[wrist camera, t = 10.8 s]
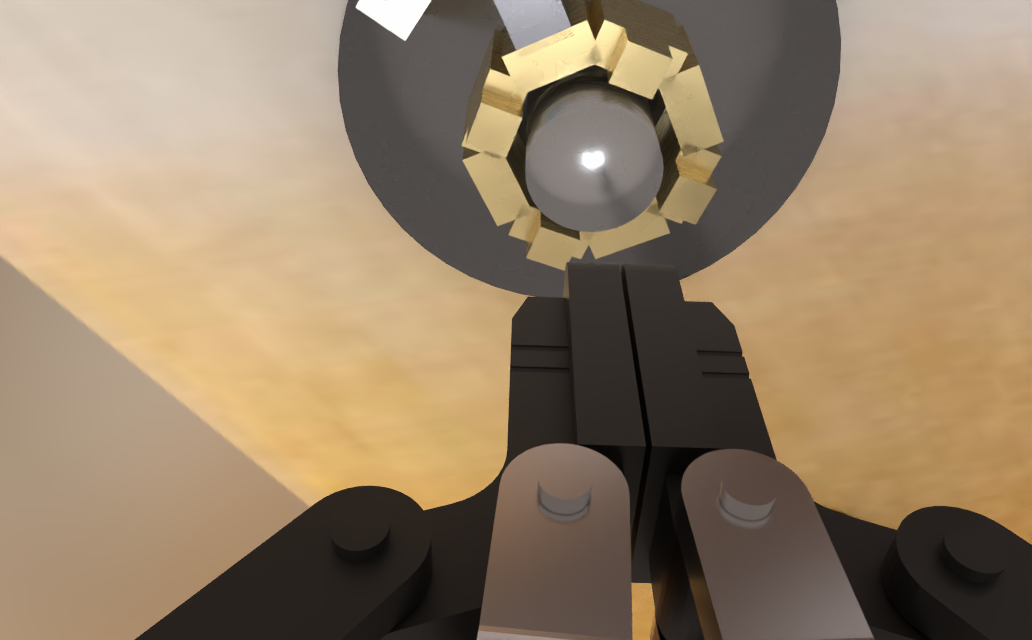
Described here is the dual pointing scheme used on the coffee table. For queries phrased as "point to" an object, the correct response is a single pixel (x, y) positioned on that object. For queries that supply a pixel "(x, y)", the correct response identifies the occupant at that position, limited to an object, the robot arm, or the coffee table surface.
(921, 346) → the coffee table surface
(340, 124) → the coffee table surface
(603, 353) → the robot arm
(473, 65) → the plate and cap
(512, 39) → the grey and gold lever
